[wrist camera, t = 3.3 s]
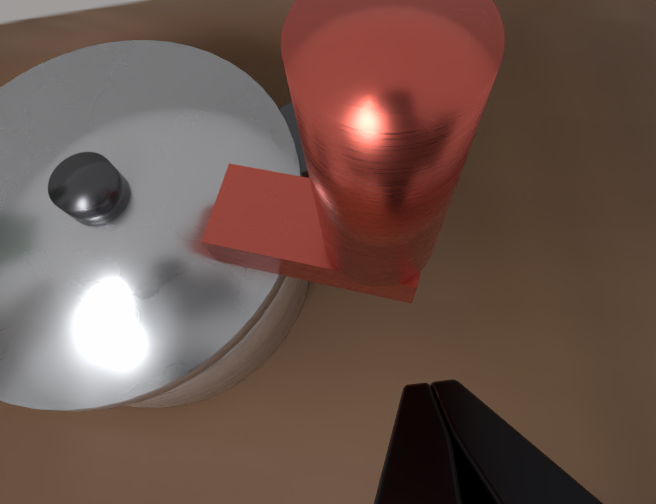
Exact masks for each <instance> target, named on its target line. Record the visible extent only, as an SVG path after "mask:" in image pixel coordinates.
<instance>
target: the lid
mask: <svg viewBox="0 0 656 504" xmlns="http://www.w3.org/2000/svg"><path fill="white" fill-rule="evenodd" d="M504 46H505V33H504V25H503V22H502V18H501V15H500V13H499V11H498V9H497V7H496V5H495V3H494V2H493V0H296V1H295V3H294V4H293V6H292V7H291V9H290V11H289V13H288V15H287V17H286V20H285V22H284V26H283V30H282V36H281V54H282V59H283V63H284V67H285V72H286V76H287V81H288V85H289V90H290V94H291V99H292V103H293V107H294V112H295V116H296V121H297V125H298V130H299V134H300V139H301V143H302V148H303V152H304V156H305V161H306V165H307V170H308V174H309V178H307V177H302V174H301V169H300V165H299V161H298V156H297V152H296V148H295V144H294V141H293V138H292V136H291V133H290V131H289V128H288V126H287V123H286V121H285V119H284V117H283V116H282V114H281V112H280V111H279V109H278V107H277V106H276V104H275V103H274V101H273V100H272V99H271V98H270V96H269V95H268V94H267V93H266V92H265V90H264V89H263V88H262V87H261V86H260V85H259V84H258V83H257V82H256V81H255V80H253V79H252V78H251V77H250V76H249V75H248V74H247V73H245V72H244V71H242V70H241V69H239V68H238V67H236V66H235V65H233V64H232V63H230V62H229V61H227V60H224V59H222V58H220V57H218V56H216V55H214V54H212V53H210V52H207V51H204V50H201V49H198V48H195V47H192V46H187V45H183V44H178V43H173V42H165V41H153V40H129V41H119V42H111V43H103V44H99V45H95V46H90V47H86V48H81V49H78V50H75V51H72V52H69V53H66V54H63V55H60V56H58V57H55V58H53V59H51V60H49V61H46V62H44V63H42V64H39V65H37V66H35V67H34V68H32V69H30V70H28V71H26V72H25V73H23V74H21V75H19V76H17V77H16V78H14V79H13V80H11V81H10V82H8V83H7V84H5V85H4V86H2V87H1V88H0V401H3V402H6V403H9V404H14V405H19V406H24V407H29V408H34V409H45V410H61V411H81V412H83V411H94V410H104V409H113V408H117V407H121V406H126V405H130V404H134V403H138V402H142V401H144V400H147V399H150V398H152V397H155V396H158V395H160V394H163V393H166V392H168V391H170V390H172V389H174V388H176V387H178V386H179V385H181V384H183V383H185V382H187V381H189V380H191V379H193V378H195V377H196V376H197V375H199V374H200V373H202V372H203V371H205V370H206V369H208V368H209V367H211V366H212V365H213V364H215V363H216V362H218V361H219V360H220V359H221V358H222V357H224V356H225V355H226V354H227V353H228V352H229V351H230V350H232V349H233V348H234V347H235V346H236V345H237V344H238V343H239V342H241V341H242V339H243V338H244V337H245V336H246V335H247V334H248V333H249V331H250V330H251V329H252V328H253V327H254V326H255V325H256V324H257V322H258V321H259V320H260V319H261V317H262V316H263V315H264V313H265V312H266V310H267V309H268V307H269V306H270V304H271V303H272V301H273V300H274V298H275V297H276V295H277V293H278V291H279V290H280V288H281V286H282V284H283V282H284V280H285V278H286V276H288V277H293V278H297V279H302V280H307V281H311V282H316V283H320V284H325V285H330V286H334V287H339V288H343V289H348V290H353V291H357V292H362V293H366V294H371V295H376V296H380V297H385V298H390V299H394V300H399V301H403V302H408V303H412V300H413V298H414V295H415V292H416V289H417V285H418V280H419V275H420V270H421V269H422V268H423V267H424V266H425V264H426V263H427V261H428V260H429V258H430V256H431V254H432V251H433V248H434V246H435V243H436V240H437V237H438V235H439V232H440V229H441V226H442V224H443V221H444V218H445V215H446V213H447V210H448V207H449V204H450V202H451V199H452V196H453V193H454V191H455V188H456V185H457V182H458V180H459V177H460V174H461V171H462V169H463V166H464V163H465V160H466V158H467V155H468V152H469V149H470V147H471V144H472V141H473V138H474V136H475V133H476V130H477V127H478V125H479V122H480V119H481V116H482V114H483V111H484V108H485V105H486V103H487V100H488V97H489V94H490V92H491V89H492V86H493V83H494V81H495V78H496V75H497V72H498V70H499V67H500V64H501V61H502V57H503V53H504Z"/></svg>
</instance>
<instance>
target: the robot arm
mask: <svg viewBox="0 0 656 504" xmlns="http://www.w3.org/2000/svg"><path fill="white" fill-rule="evenodd" d="M374 504H603V503H602V502H600V501H599V500H598V499H597V498H596V497H594V496H593V495H592V494H591V493H590V492H589V491H587V490H586V489H585V488H584V487H583V486H581V485H580V484H579V483H578V482H577V481H576V480H574V479H573V478H572V477H571V476H570V475H568V474H567V473H566V472H565V471H564V470H563V469H561V468H560V467H559V466H558V465H557V464H555V463H554V462H553V461H552V460H551V459H549V458H548V457H547V456H546V455H545V454H544V453H542V452H541V451H540V450H539V449H538V448H536V447H535V446H534V445H533V444H532V443H531V442H529V441H528V440H527V439H526V438H525V437H523V436H522V435H521V434H520V433H519V432H517V431H516V430H515V429H514V428H513V427H512V426H510V425H509V424H508V423H507V422H506V421H504V420H503V419H502V418H501V417H500V416H499V415H497V414H496V413H495V412H494V411H493V410H491V409H490V408H489V407H488V406H487V405H485V404H484V403H483V402H482V401H481V400H480V399H478V398H477V397H476V396H475V395H474V394H472V393H471V392H470V391H469V390H468V389H467V388H465V387H464V386H463V385H462V384H461V383H459V382H458V381H456V380H444V381H436V382H433V383H431V385H429V384H428V383H418V384H410V385H406V386H405V387H404V388H403V392H402V395H401V399H400V403H399V407H398V411H397V415H396V419H395V423H394V427H393V431H392V435H391V439H390V443H389V447H388V450H387V454H386V458H385V462H384V466H383V470H382V474H381V478H380V482H379V486H378V490H377V494H376V498H375V502H374Z"/></svg>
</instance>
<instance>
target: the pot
mask: <svg viewBox="0 0 656 504" xmlns="http://www.w3.org/2000/svg"><path fill="white" fill-rule="evenodd" d="M278 109H279V111H280V112H281V114H282V116H283V117H284V119H285V121H286V123H287V126H288V128H289V131H290V133H291V136H292V138H293V141H294V144H295V148H296V152H297V156H298V161H299V165H300V169H301V174H302V177H307V178H309V174H308V170H307V165H306V161H305V156H304V152H303V148H302V143H301V139H300V134H299V130H298V125H297V121H296V116H295V112H294V107H293V103H290V104H287V105H285V106H283V107H281V108H278ZM308 284H309V281H307V280H302V279H297V278H293V277H288V276H286V278H285V280H284V282H283V284H282V286H281V288H280V290H279V291H278V293H277V295H276V297H275V298H274V300H273V301H272V303H271V304H270V306H269V307H268V309H267V310H266V312H265V313H264V315H263V316H262V317H261V319H260V320H259V321H258V322H257V324H256V325H255V326H254V327H253V328H252V329H251V330H250V331H249V333H248V334H247V335H246V336H245V337H244V338H243V339H242V341H241V342H239V343H238V344H237V345H236V346H235V347H234V348H233V349H232V350H230V351H229V352H228V353H227V354H226V355H225V356H224V357H222V358H221V359H220V360H219V361H218V362H216V363H215V364H213V365H212V366H211V367H209V368H208V369H206V370H205V371H203V372H202V373H200V374H199V375H197V376H196V377H195V378H193V379H191V380H189V381H187V382H185V383H183V384H181V385H179V386H178V387H176V388H174V389H172V390H170V391H168V392H166V393H163V394H160V395H158V396H155V397H152V398H150V399H147V400H144V401H142V402H138V403H134V404H130V405H126V406H133V407H142V408H168V407H175V406H182V405H187V404H191V403H194V402H198V401H201V400H205V399H207V398H210V397H212V396H214V395H217V394H219V393H221V392H224V391H225V390H227V389H229V388H231V387H232V386H234V385H236V384H237V383H239V382H241V381H242V380H244V379H245V378H246V377H247V376H249V375H250V374H251V373H253V372H254V371H255V370H257V369H258V368H259V367H260V366H261V365H262V364H263V363H264V362H265V361H266V360H267V359H268V358H269V357H270V356H271V355H272V354H273V353H274V352H275V350H276V349H277V348H278V346H279V345H280V344H281V343H282V341H283V340H284V339H285V337H286V336H287V334H288V332H289V331H290V329H291V327H292V326H293V324H294V322H295V321H296V318H297V316H298V314H299V312H300V309H301V307H302V305H303V302H304V299H305V295H306V292H307V288H308Z"/></svg>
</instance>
